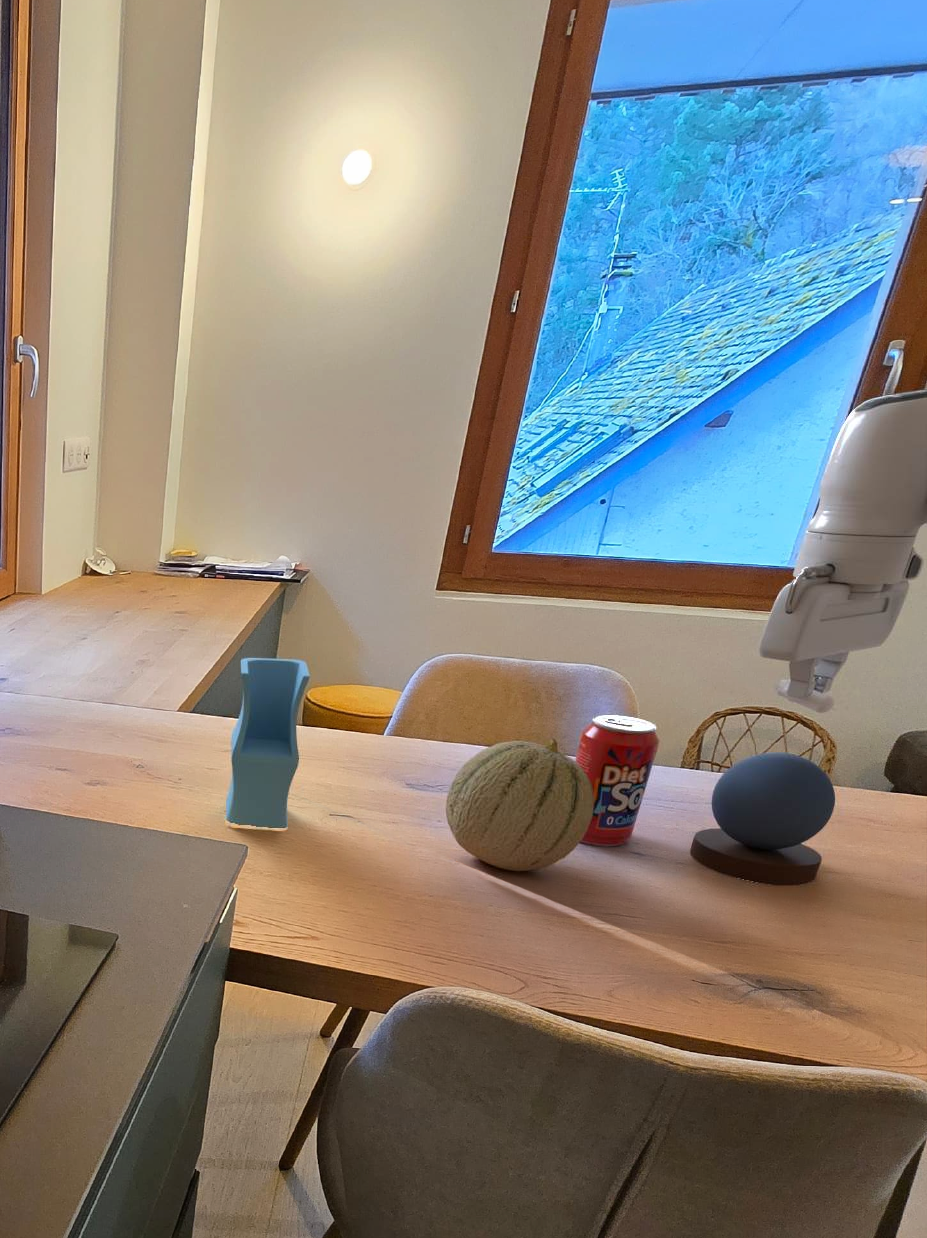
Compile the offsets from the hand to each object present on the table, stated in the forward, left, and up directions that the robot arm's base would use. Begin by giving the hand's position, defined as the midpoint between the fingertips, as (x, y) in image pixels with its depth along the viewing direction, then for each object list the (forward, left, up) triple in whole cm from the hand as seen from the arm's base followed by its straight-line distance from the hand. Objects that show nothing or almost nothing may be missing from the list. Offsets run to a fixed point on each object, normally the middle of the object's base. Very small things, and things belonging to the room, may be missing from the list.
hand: (807, 694), depth 111 cm
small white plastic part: (0, 0, -2) cm, 2 cm away
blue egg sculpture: (0, 0, -20) cm, 20 cm away
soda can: (+14, +8, -20) cm, 26 cm away
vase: (+39, +40, -20) cm, 59 cm away
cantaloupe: (+14, +25, -20) cm, 35 cm away
